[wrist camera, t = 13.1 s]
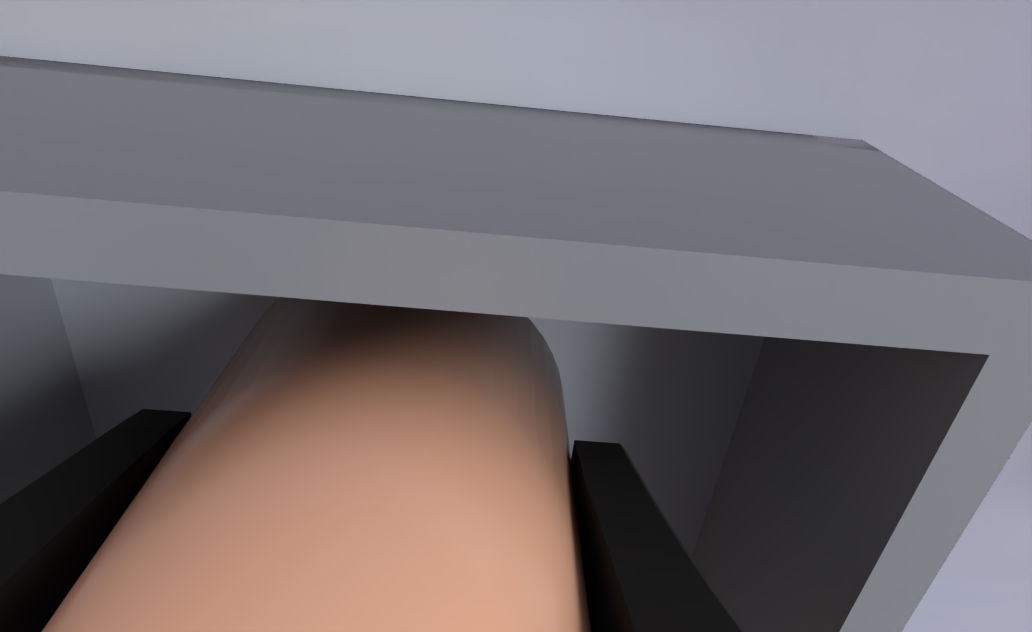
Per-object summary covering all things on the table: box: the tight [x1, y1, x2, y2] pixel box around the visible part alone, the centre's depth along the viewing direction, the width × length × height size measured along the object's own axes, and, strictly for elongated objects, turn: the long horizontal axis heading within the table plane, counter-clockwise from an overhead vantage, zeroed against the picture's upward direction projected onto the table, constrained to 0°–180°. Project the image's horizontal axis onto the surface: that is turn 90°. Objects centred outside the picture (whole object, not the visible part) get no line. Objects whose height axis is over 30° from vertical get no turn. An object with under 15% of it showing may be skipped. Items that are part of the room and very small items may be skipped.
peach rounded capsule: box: [42, 297, 591, 632], centre depth 7 cm, size 5×5×7 cm
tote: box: [0, 56, 1032, 632], centre depth 12 cm, size 18×14×5 cm
